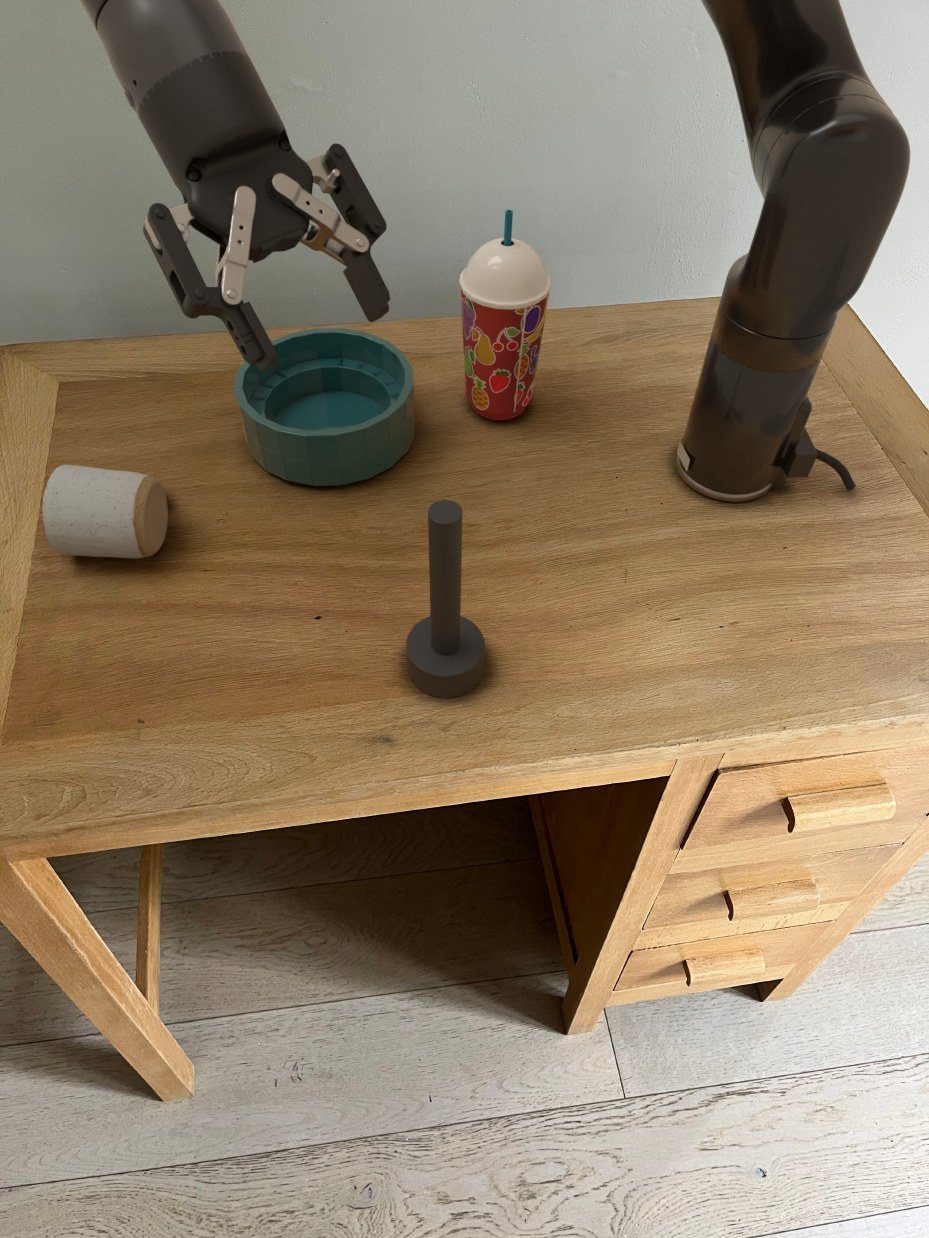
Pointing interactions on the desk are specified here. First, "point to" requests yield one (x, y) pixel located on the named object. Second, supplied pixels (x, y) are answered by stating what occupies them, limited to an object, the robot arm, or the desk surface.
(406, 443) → the bowl
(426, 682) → the rod on round base
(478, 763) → the desk surface
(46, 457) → the desk surface
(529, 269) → the smoothie
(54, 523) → the ceramic mug
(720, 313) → the robot arm
